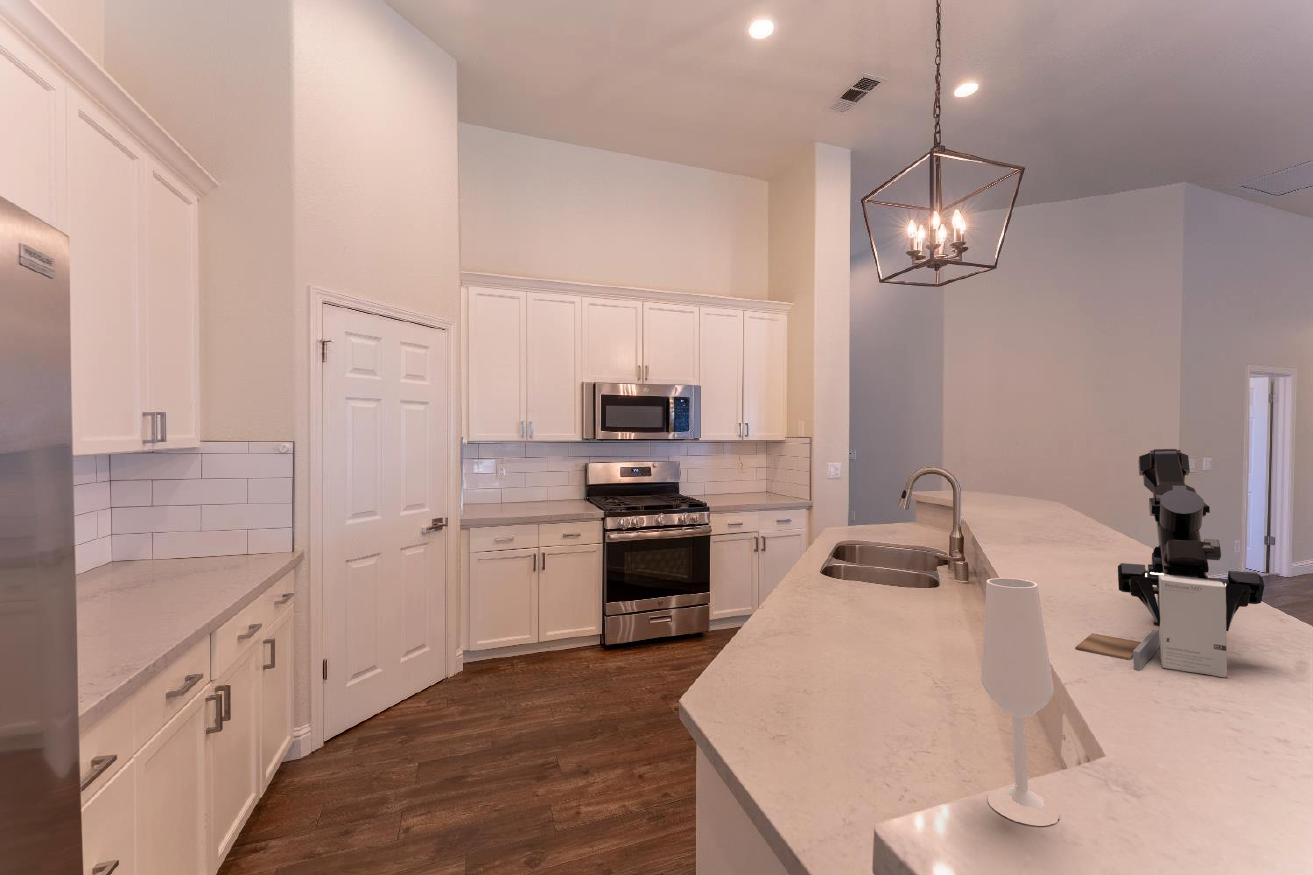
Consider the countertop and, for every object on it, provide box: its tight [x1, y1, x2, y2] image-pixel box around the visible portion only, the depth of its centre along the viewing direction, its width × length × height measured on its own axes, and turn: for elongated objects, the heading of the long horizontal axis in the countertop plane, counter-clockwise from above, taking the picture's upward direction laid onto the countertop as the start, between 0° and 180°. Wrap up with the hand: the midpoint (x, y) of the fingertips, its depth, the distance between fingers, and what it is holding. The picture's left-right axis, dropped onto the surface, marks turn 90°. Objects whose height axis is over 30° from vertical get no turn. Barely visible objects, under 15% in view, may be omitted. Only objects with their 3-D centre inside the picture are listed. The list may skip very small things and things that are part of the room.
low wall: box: [1132, 628, 1160, 671], centre depth 104 cm, size 16×1×3 cm, turn 130°
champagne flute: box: [980, 577, 1055, 808], centre depth 64 cm, size 7×7×24 cm
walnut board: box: [1074, 633, 1142, 661], centre depth 109 cm, size 11×8×1 cm
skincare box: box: [1158, 575, 1228, 678], centre depth 98 cm, size 8×6×15 cm
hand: (1191, 625), depth 98 cm, fingers closed on skincare box, 8 cm apart
